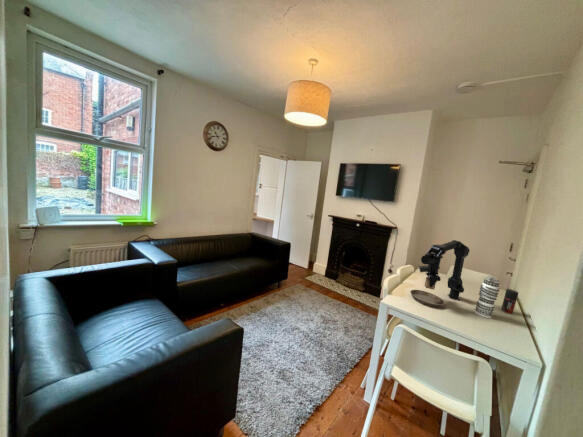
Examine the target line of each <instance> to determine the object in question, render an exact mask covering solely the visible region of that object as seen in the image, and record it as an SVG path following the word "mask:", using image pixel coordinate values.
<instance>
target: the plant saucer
mask: <svg viewBox="0 0 583 437" xmlns="http://www.w3.org/2000/svg"><path fill="white" fill-rule="evenodd" d="M409 293H410V295H411V296H412V298H413V299H414V300H415V301H417V302H418V303H420V304H422V305H425V306H428V307H432V308H437V307H442V306H443V305H444V304H445V301H444V300H443V299H442V298H441V297H439V296H438V295H436V294H434V293H431V292H428V291H425V290H421V289H411V290H410V292H409Z"/></svg>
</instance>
